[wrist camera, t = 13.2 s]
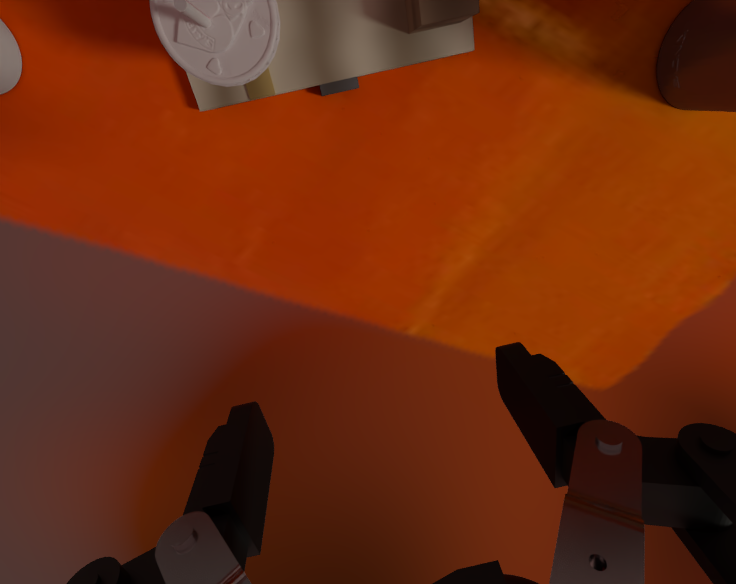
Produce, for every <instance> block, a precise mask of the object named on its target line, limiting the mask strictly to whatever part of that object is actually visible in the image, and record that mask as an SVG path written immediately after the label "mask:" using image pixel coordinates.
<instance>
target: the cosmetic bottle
mask: <svg viewBox="0 0 736 584" xmlns="http://www.w3.org/2000/svg"><path fill="white" fill-rule="evenodd" d="M21 71H22V58H21V53H20V50H19V47H18V44H17V42H16V40H15V38H14V36H13V35H12V33H11V32H10V30H9V29H8V27H7V26H6V25H5V24H4V23H3V22H2V20H1V19H0V94H3V93H6V92H8V91H9V90H11V89H12V88H13V87H14V86H15V85H16V84H17V82H18V80H19V78H20V76H21Z"/></svg>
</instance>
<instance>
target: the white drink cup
mask: <svg viewBox="0 0 736 584" xmlns="http://www.w3.org/2000/svg"><path fill="white" fill-rule="evenodd" d="M149 1H150V11H151V16H152V20H153V24H154V27H155V30H156V32H157V34H158V37H159V39H160V41H161V43H162V44H163V46H164V48H165V49H166V51H167V52H168V53H169V55H170V56H171V57H172V58H173V59H174V61H175V62H176V63H177V64H178V65H179V66H181V67H182V68H183V69H184V70H185V71H187V72H188V73H190V74H191V75H193V76H194V77H196V78H198V79H200V80H203V81H205V82H207V83H210V84H212V85H218V86H224V87H231V86H240V85H244V84H246V83H248V82H250V81H253V80H255V79H256V78H257V77H258V76H260V75H261V74H262V73H263V72H264V71H265V70H266V69H267V68H268V66H269V64H270V63H271V61H272V60H273V58H274V56H275V53H276V50H277V47H278V43H279V40H280V17H279V11H278V5H277V2H276V0H149Z"/></svg>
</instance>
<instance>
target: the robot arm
mask: <svg viewBox="0 0 736 584" xmlns="http://www.w3.org/2000/svg"><path fill="white" fill-rule="evenodd" d="M657 79H658V85H659V88H660V91H661V93H662V95H663V97H664V98H665V99H666V101H667V102H668V103H669V104H671V105H672V106H674V107H675V108H679V109H682V110H695V111H724V112H736V0H693V1H692V2H691V3H690V4H689V5H688V6H687V7H686V8H685V9H684V10H683V11H682V12H681V13H680V14H679V16H678V17H677V18H676V20H675V21H674V22H673V24H672V25H671V27H670V29H669V31H668V33H667V34H666V36H665V38H664V41H663V44H662V46H661V49H660V53H659V58H658V63H657ZM495 352H496V369H497V383H498V389H499V392H500V395H501V398H502V400H503V402H504V404H505V405H506V407H507V409H508V410H509V412H510V414H511V416H512V417H513V419H514V420H515V422H516V424H517V426H518V427H519V429H520V430H521V432H522V434H523V436H524V437H525V439H526V441H527V442H528V444H529V446H530V447H531V449H532V451H533V453H534V454H535V456H536V458H537V459H538V461H539V462H540V464H541V466H542V468H543V469H544V471H545V473H546V474H547V476H548V478H549V479H550V481H551V483H552V484H553V486H554V488H558V487H562V486H567V485H568V492H567V494H565V498H564V503H563V510H562V515H561V520H560V526H559V532H558V538H557V543H556V549H555V554H554V560H553V566H552V571H551V577H550V584H644V541H645V537H644V536H645V533H644V532H645V530H644V524H647V525H656V526H667V527H672V529H673V530H674V532H675V533H676V534H677V536H678V537H679V538H680V540H681V541H682V542H683V544H684V545H685V546H686V548H687V549H688V550H689V552H690V553H691V554H692V556H693V557H694V558H695V560H696V561H697V563H698V564H699V565H700V567H701V568H702V569H703V570H704V572H705V573H706V575H707V576H708V577H709V579H710V580H711V581H712V583H713V584H736V434H735V433H734V432H732V431H730V430H727V429H725V428H723V427H719V426H716V425H712V424H704V423H695V424H690V425H687V426H684V427H683V428H682V429H681V430H680V431H679V434H678V438H654V437H642V436H637V435H635V433H633V432H632V431H631V430H630V429H628V428H627V427H625V426H623V425H621V424H619V423H616V422H613V421H608V420H606V419H605V418H604V417H603V416H602V415H601V414H600V412H599V411H598V410H597V409H596V408H595V407H594V406H593V404H592V403H591V402H590V401H589V400H588V399H587V398H586V397H585V395H584V394H583V393H582V392H581V391H580V390H579V389H578V387H577V386H576V385H574V384H573V382H572V381H571V379H570V378H569V377H568V376H567V375H565V373H564V371H563V370H562V369H561V368H560V367H559V366H558V365H557V364H556V362H554V361H553V360H551V359H549V358H547V357H545V356H544V355H542V354H536V355H532V356H531V354H530V353H529V352H528V351H527V350H526V348H525V347H524V346H523V345H522V344H521V343H520V342H517V343H512V344H508V345H503V346H499V347H496V351H495ZM203 456H204V457H202V460H201V463H200V466H199V467H200V469H198V472H197V475H196V478H195V481H194V484H193V487H192V490H191V493H190V495H189V498H188V502H187V505H186V507H185V510H184V513H183V516H181V517H180V518H178V519H177V520H175V521H174V522H173V523H172V524H171V525H170V526H169V527H168V528H167V529H166V530H165V531H164V533H163V534H162V535H161V537H160V539H159V541H158V543H157V546H156V547H155V548H153V549H151V550H150V551H148V552H146V553H144V554H142V555H140V556H138V557H136V558H134V559H133V560H131V561H129V562H127V563H125V564H123V565H121V564H120V563H119V562H118V561H117V560H116V559H115V558H112V557H103V558H99V559H97V560H95V561H93V562H91V563H89V564H87V565H86V566H85V567H83V568H82V569H80V570H79V571H78V572H77V573H76V574H75V575H74V576H73V577H72V578H71V579H70V580H69V581H68V583H67V584H251V583H250V581H249V579H248V578H247V576H246V575H245V573H244V570H245V564H246V558H247V557H251V556H255V555H260V552H261V545H262V538H263V530H264V523H265V515H266V508H267V501H268V493H269V485H270V479H271V472H272V464H273V457H274V442H273V437H272V434H271V432H270V430H269V427H268V425H267V423H266V420H265V418H264V416H263V413H262V411H261V409H260V407H259V405H258V403H257V402H250V403H246V404H242V405H238V406H233V407H232V408H231V411H230V414H229V417H228V421H227V424H226V425H221V426H218V428H217V429H216V430H215V432H214V433H213V434H212V436H211V437H210V438H209V440H208V442H207V445H206V448H205V451H204V454H203ZM433 584H538V583H536V582H534V581H532V580H529V579H526V578H523V577H519V576H514V575H507V574H503V573H502V570H501V567H500V565H499V562H498V560H497V561H493V562H488V563H484V564H480V565H475V566H471V567H467V568H462V569H458V570H456V571H454V572H452V573H450V574H449V575H447V576H445V577H443V578H442V579H440V580H438V581H436V582H435V583H433Z"/></svg>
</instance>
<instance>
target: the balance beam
mask: <svg viewBox="0 0 736 584" xmlns="http://www.w3.org/2000/svg"><path fill="white" fill-rule="evenodd" d="M276 2H277V5H278V11H279V17H280V40H279V43H278V47H277V50H276V53H275V56H274V58H273V60H272V61H271V63H270V64H269V66H268V68H267V69H266V70H265V71H264V72H263V73H262V74H261V75H260V76H258V77H257V78H256V79H255V80H253V81H250V82H248V83H246V84H244V85H240V86H231V87H224V86H218V85H212V84H210V83H207V82H205V81H203V80H200V79H198V78H196V77H194V76H193V75H191V74H190V73H188V72H187V71H186V73H187V76H188V79H189V82H190V84H191V87H192V90H193V93H194V95H195V98H196V101H197V104H198V107H199V109H200V111H207V110H211V109H216V108H220V107H225V106H229V105H234V104H238V103H243V102H247V101H251V100H256V99H260V98H265V97H269V96H274V95H278V94H283V93H287V92H292V91H296V90H301V89H305V88H310V87H314V86H319V85H320V90H321V94H322V96H325V95H329V94H334V93H338V92H343V91H347V90H351V89H356V88H359V85H358V79H357V77H359V76H363V75H368V74H372V73H377V72H381V71H386V70H390V69H394V68H399V67H403V66H408V65H412V64H417V63H421V62H426V61H430V60H435V59H439V58H444V57H448V56H453V55H457V54H462V53H466V52H470V51H473V50H474V35H473V19H472V16H474V15H476V14H478V13H479V0H276Z"/></svg>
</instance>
